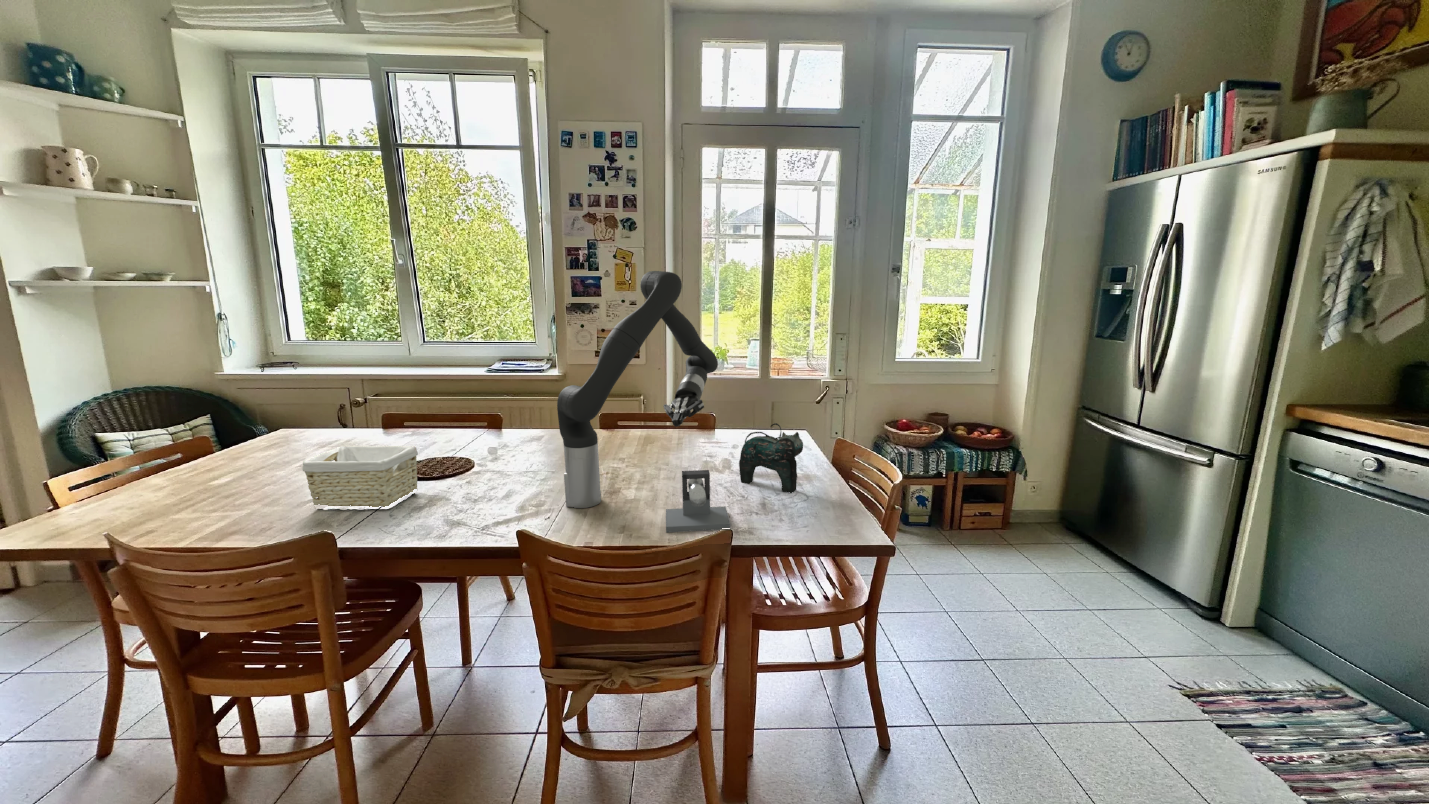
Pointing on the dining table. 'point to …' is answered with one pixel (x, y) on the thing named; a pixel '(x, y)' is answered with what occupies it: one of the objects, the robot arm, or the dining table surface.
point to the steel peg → (696, 492)
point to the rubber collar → (695, 475)
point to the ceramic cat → (771, 457)
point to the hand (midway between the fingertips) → (676, 423)
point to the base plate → (696, 518)
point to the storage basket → (362, 475)
